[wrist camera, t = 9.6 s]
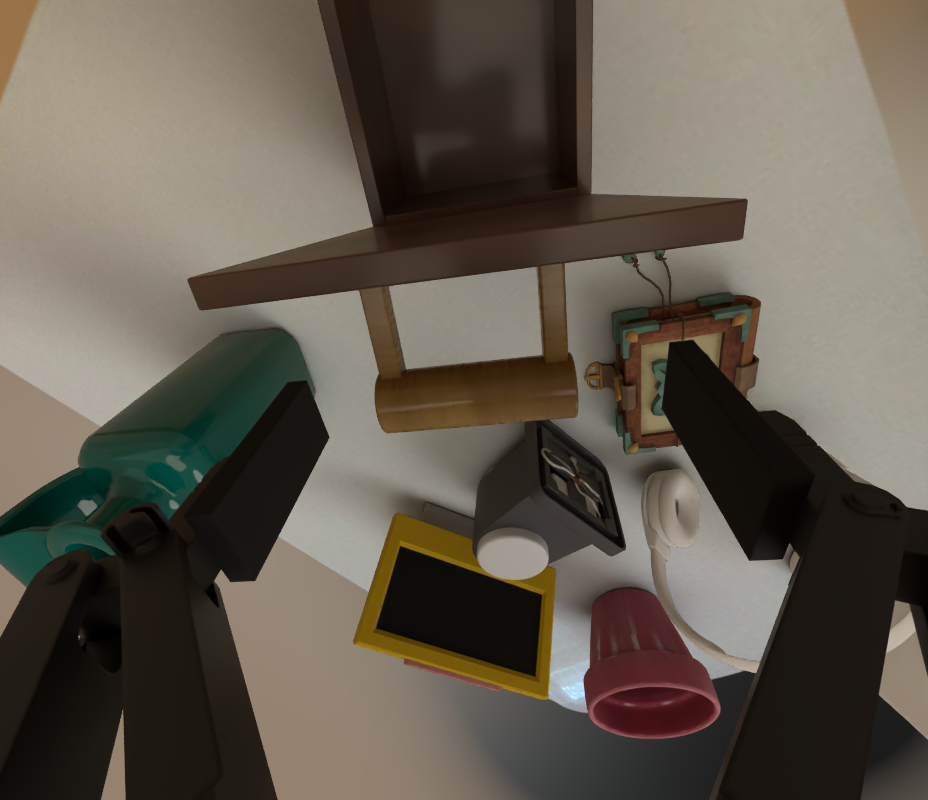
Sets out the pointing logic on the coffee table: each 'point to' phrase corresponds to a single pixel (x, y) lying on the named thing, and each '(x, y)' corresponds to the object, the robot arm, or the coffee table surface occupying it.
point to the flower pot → (644, 671)
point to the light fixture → (543, 506)
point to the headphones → (677, 524)
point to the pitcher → (153, 448)
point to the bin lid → (470, 253)
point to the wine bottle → (902, 673)
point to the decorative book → (646, 351)
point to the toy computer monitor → (457, 608)
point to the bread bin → (464, 101)
